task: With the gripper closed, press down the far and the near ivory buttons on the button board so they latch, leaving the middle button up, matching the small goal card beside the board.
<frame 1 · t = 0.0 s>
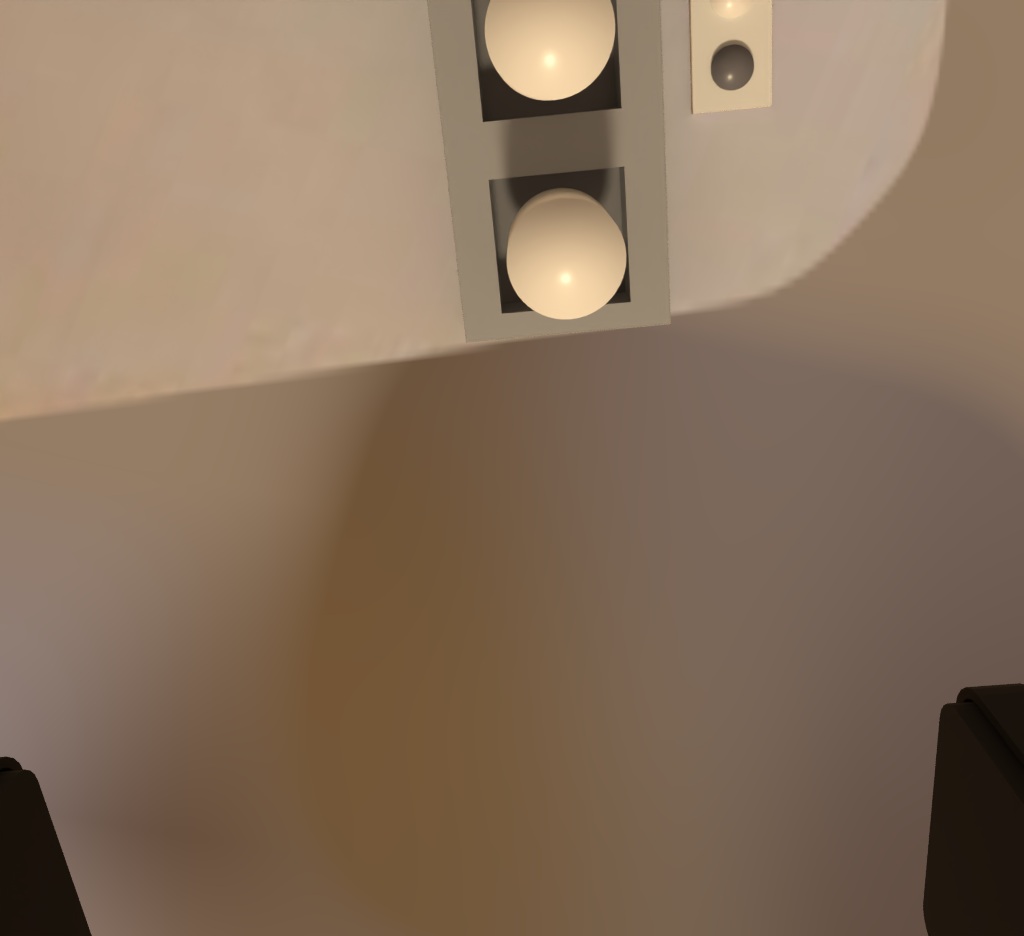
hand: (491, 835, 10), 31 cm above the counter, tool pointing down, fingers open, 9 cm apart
button mid: (548, 34, 30), point 5 cm above the counter, slide at 0.0 cm
button board: (544, 44, 35), on the counter
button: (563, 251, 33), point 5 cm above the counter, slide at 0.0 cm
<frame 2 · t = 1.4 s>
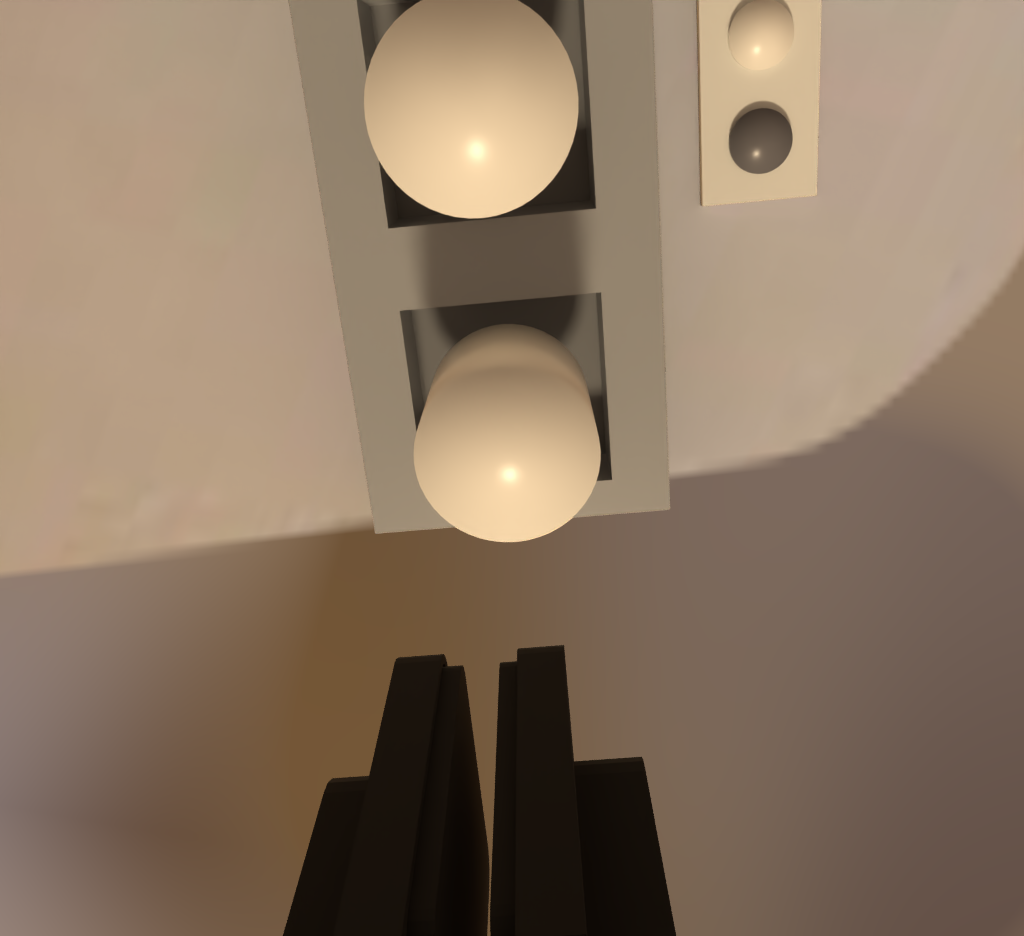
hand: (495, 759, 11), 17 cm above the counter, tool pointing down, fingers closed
button mid: (476, 107, 19), point 5 cm above the counter, slide at 0.0 cm
button board: (485, 106, 24), on the counter
goal card: (757, 36, 23), on the counter
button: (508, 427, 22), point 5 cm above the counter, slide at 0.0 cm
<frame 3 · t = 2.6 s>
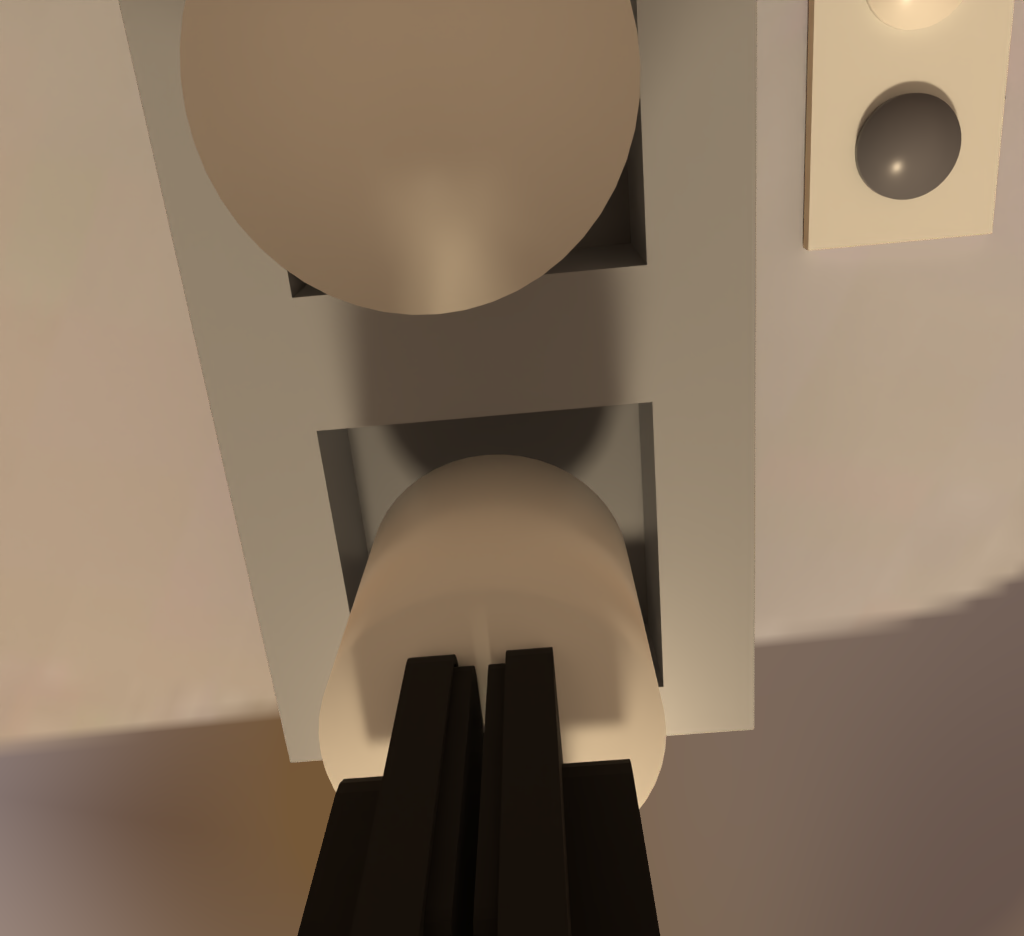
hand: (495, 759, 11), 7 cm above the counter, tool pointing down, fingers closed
button mid: (431, 88, 10), point 5 cm above the counter, slide at 0.0 cm
button board: (460, 90, 15), on the counter
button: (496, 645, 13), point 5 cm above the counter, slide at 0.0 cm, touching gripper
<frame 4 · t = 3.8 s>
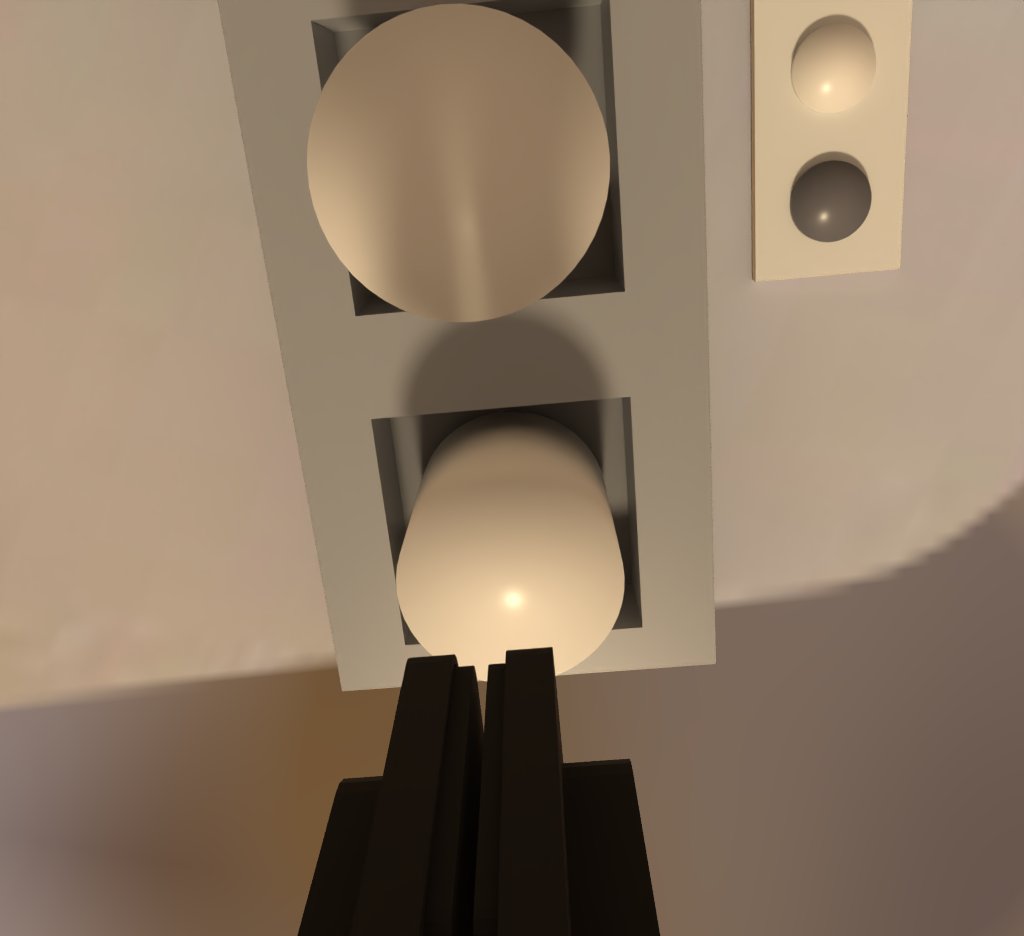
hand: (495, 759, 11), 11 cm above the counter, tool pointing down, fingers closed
button mid: (467, 166, 14), point 5 cm above the counter, slide at 0.0 cm
button board: (482, 157, 19), on the counter
goal card: (827, 70, 18), on the counter
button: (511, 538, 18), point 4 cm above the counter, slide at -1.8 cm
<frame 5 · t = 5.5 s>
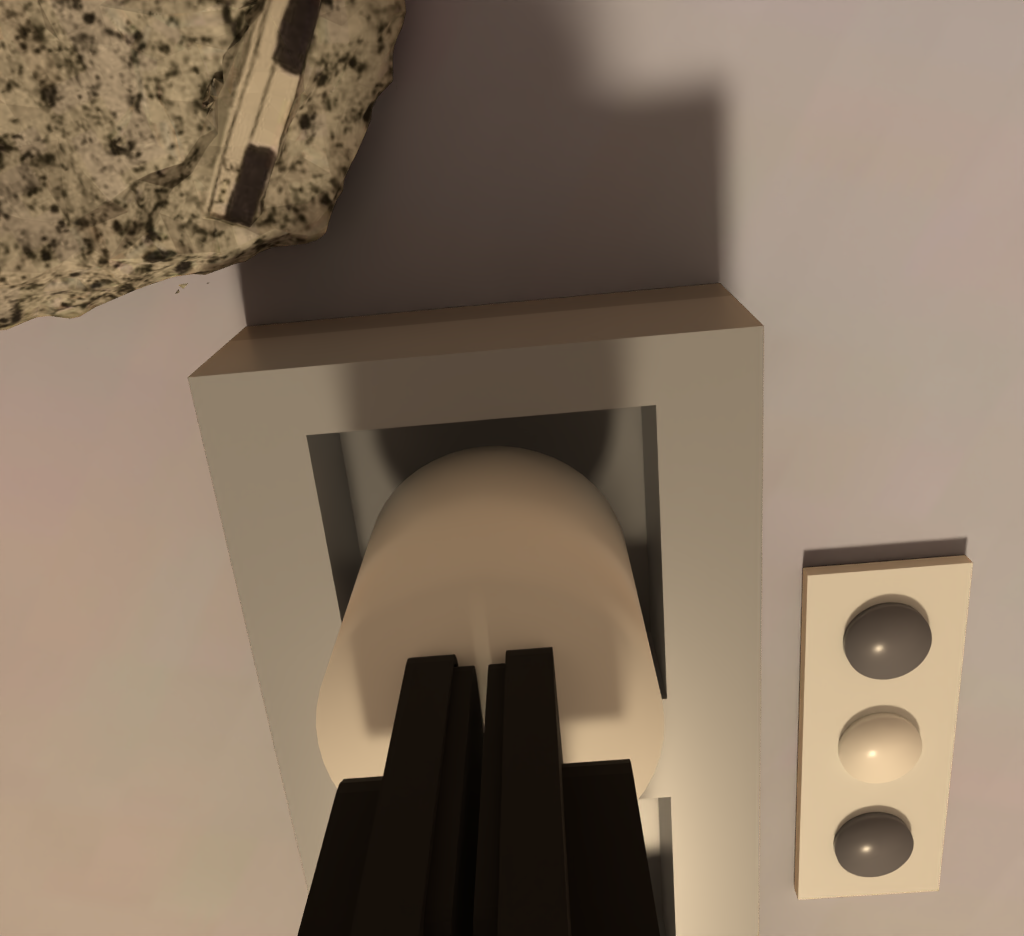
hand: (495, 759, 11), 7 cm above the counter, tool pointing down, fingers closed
button board: (533, 798, 20), on the counter
goal card: (872, 735, 19), on the counter
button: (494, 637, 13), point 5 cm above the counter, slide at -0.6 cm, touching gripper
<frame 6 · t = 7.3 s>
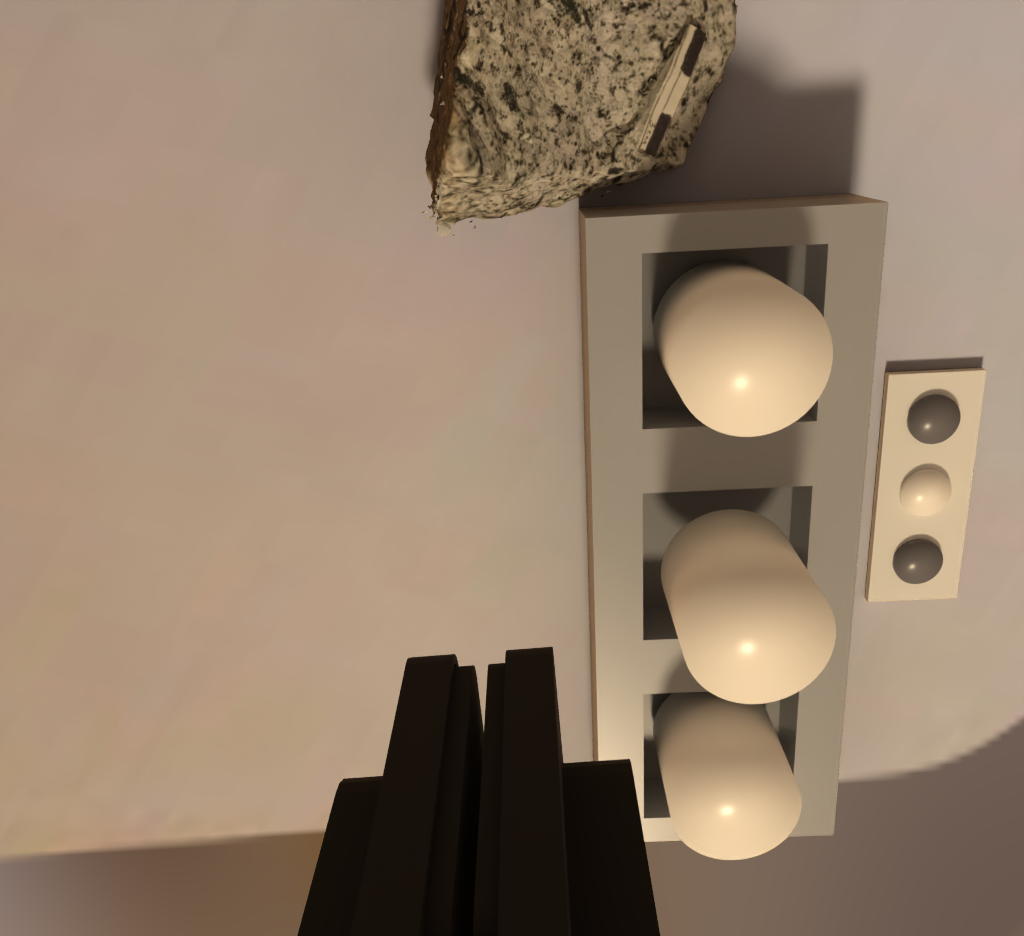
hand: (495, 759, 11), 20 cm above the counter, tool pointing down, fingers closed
rock sample: (576, 27, 26), on the counter, touching button board
button mid: (741, 602, 26), point 5 cm above the counter, slide at 0.0 cm
button board: (706, 525, 31), on the counter
goal card: (920, 488, 31), on the counter
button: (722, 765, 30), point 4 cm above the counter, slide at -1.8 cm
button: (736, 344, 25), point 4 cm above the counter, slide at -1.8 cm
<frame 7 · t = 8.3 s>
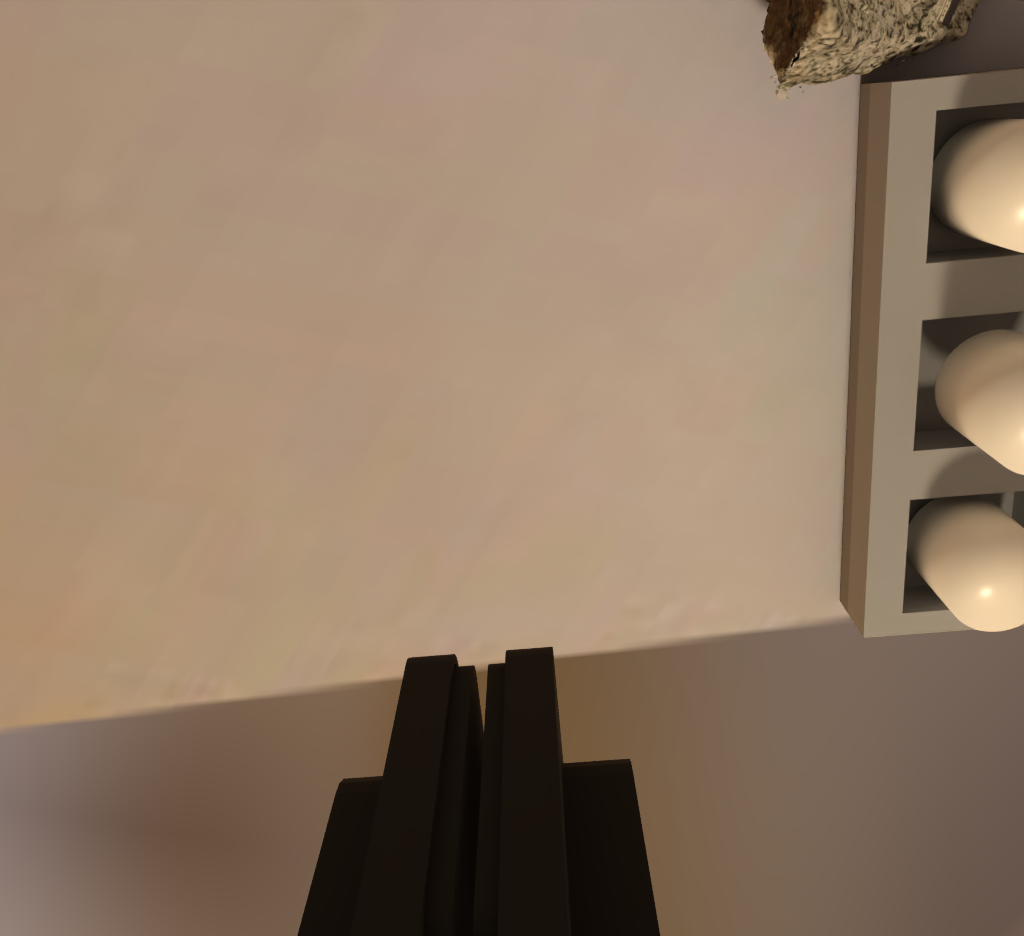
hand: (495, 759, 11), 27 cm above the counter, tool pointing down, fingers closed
button mid: (1018, 400, 32), point 5 cm above the counter, slide at 0.0 cm
button board: (951, 360, 37), on the counter
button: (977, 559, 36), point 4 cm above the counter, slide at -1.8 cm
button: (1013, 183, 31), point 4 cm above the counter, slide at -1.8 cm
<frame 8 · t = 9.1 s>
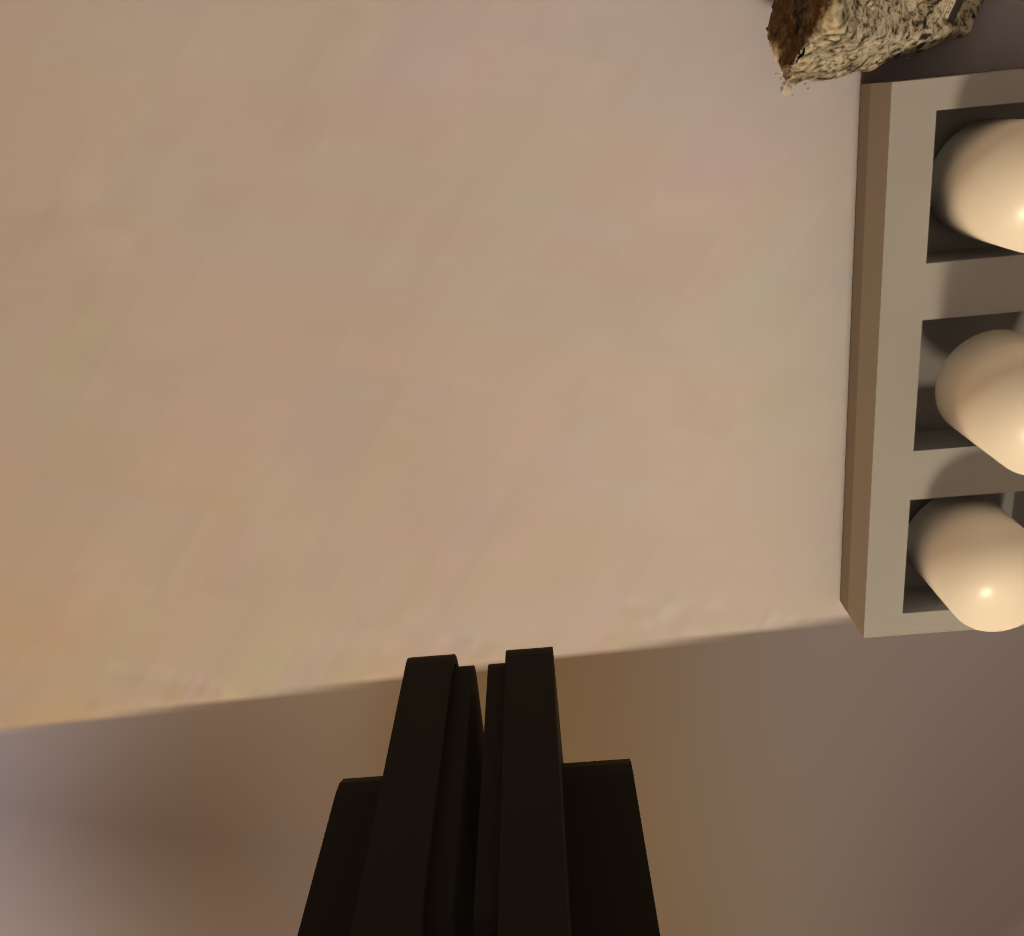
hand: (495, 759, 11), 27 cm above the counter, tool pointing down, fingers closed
button mid: (1018, 400, 32), point 5 cm above the counter, slide at 0.0 cm
button board: (951, 360, 37), on the counter
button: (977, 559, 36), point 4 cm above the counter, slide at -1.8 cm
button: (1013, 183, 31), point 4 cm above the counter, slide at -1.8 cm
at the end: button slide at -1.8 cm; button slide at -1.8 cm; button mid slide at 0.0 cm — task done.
